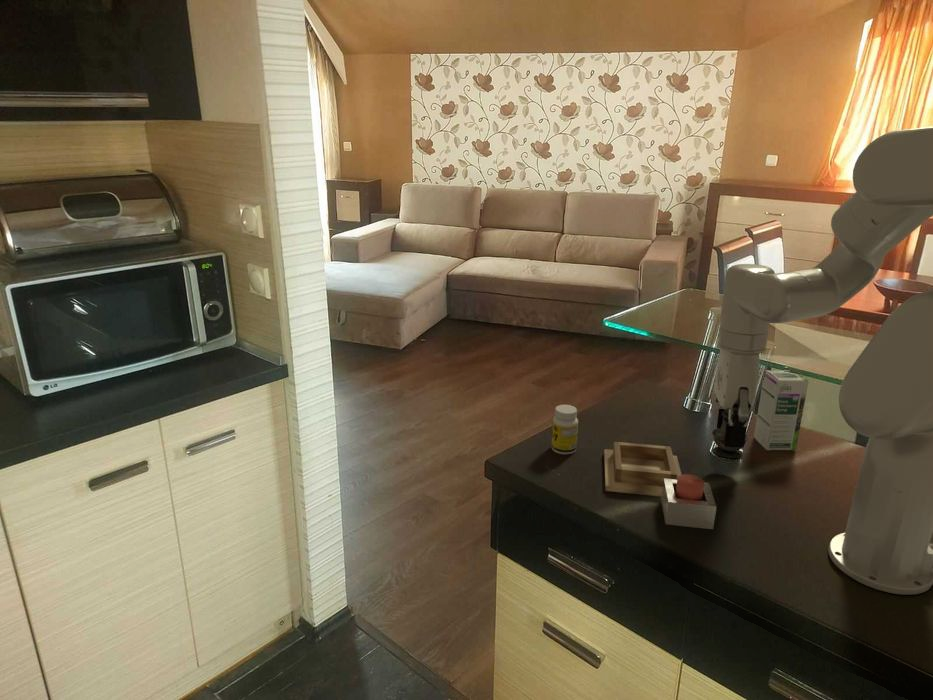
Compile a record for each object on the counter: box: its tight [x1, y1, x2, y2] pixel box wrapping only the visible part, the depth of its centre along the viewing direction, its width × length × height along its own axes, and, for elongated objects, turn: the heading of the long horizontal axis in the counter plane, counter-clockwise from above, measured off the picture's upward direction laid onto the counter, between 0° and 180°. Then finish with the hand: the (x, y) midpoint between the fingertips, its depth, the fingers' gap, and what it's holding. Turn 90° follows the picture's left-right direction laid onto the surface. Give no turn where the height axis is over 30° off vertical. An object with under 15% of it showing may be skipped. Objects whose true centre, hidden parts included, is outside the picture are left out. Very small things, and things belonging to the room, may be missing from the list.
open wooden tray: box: [603, 441, 682, 497], centre depth 113 cm, size 13×13×4 cm
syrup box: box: [753, 369, 809, 452], centre depth 123 cm, size 6×6×14 cm
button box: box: [660, 478, 718, 530], centre depth 102 cm, size 7×7×4 cm
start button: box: [675, 473, 705, 501], centre depth 101 cm, size 4×4×3 cm
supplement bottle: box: [550, 404, 579, 455], centre depth 121 cm, size 5×5×8 cm
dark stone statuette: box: [711, 404, 749, 461], centre depth 112 cm, size 6×6×12 cm
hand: (729, 437), depth 113 cm, fingers closed on dark stone statuette, 5 cm apart
